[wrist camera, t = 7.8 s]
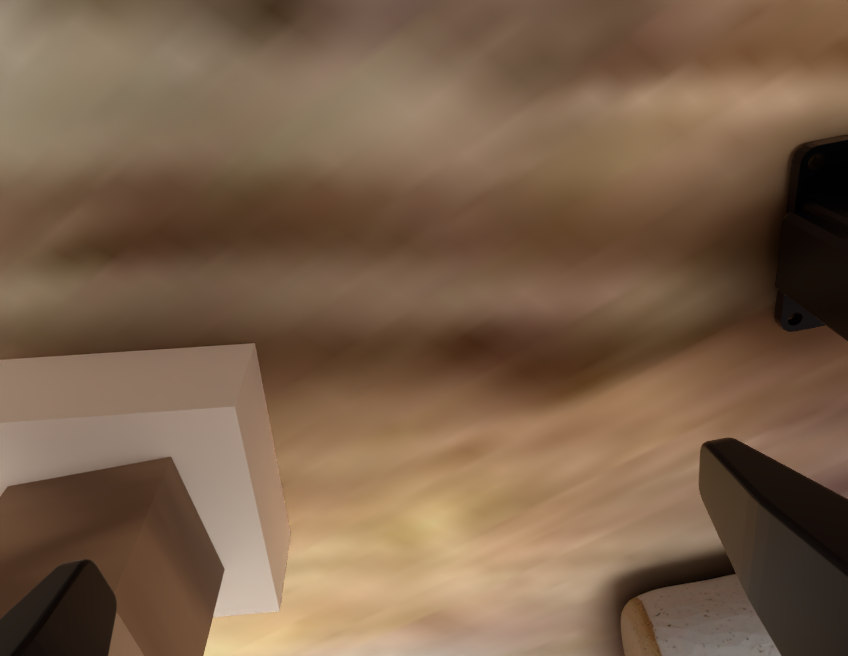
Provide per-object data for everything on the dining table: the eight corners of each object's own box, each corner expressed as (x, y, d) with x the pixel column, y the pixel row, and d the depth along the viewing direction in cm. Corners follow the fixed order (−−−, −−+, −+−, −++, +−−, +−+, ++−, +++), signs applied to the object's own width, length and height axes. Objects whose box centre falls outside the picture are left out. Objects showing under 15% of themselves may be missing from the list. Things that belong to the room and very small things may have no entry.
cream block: (256, 337, 21) (234, 406, 18) (291, 526, 26) (279, 611, 22) (-15, 355, 21) (-91, 429, 17) (68, 544, 25) (20, 634, 22)
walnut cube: (170, 456, 19) (109, 601, 14) (224, 569, 21) (186, 722, 17) (7, 486, 19) (-103, 638, 14) (79, 595, 21) (4, 754, 17)
